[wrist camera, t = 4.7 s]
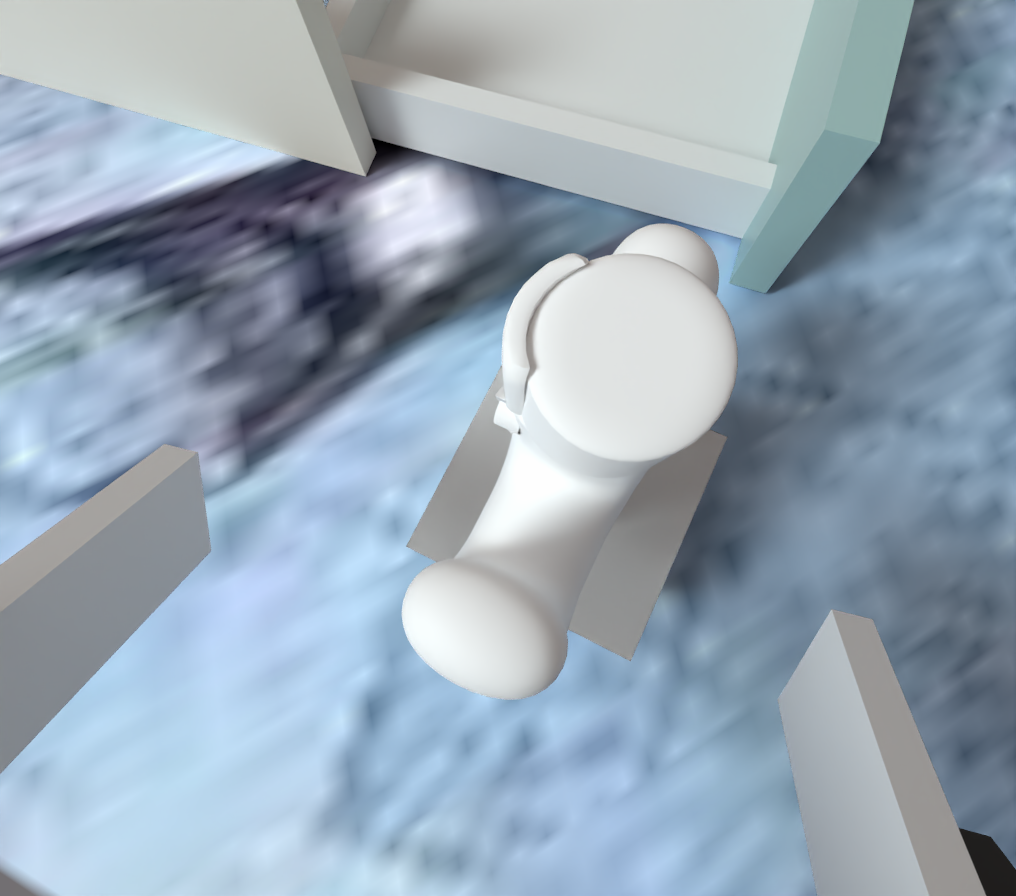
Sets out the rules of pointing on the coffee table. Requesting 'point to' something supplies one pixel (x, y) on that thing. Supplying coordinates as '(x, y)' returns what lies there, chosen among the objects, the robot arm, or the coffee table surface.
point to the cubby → (200, 68)
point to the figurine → (576, 466)
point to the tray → (641, 101)
